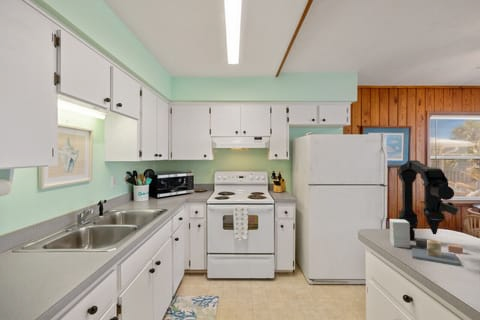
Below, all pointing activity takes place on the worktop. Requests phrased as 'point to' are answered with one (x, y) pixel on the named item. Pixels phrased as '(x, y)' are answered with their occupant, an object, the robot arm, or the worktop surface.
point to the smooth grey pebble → (421, 243)
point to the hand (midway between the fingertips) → (433, 231)
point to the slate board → (445, 257)
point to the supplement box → (400, 233)
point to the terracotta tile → (455, 249)
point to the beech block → (434, 248)
